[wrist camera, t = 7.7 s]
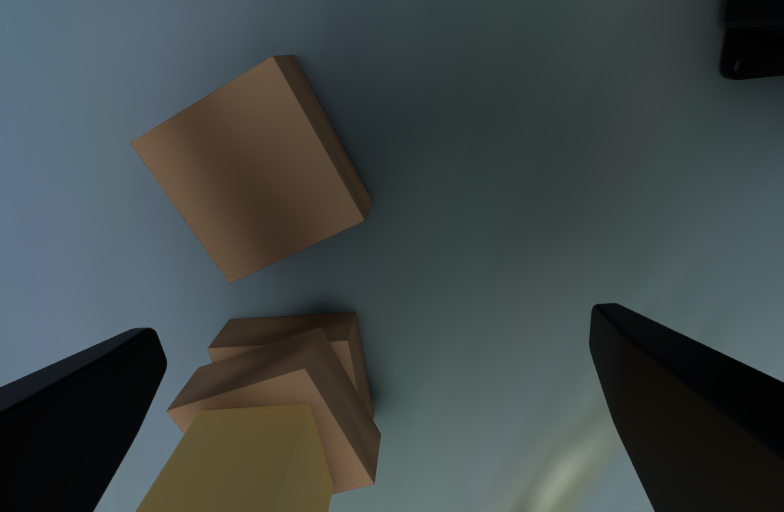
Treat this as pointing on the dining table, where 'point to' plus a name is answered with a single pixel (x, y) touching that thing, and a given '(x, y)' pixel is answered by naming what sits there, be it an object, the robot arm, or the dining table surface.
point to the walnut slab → (256, 169)
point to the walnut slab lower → (269, 330)
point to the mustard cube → (245, 464)
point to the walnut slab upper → (293, 399)
